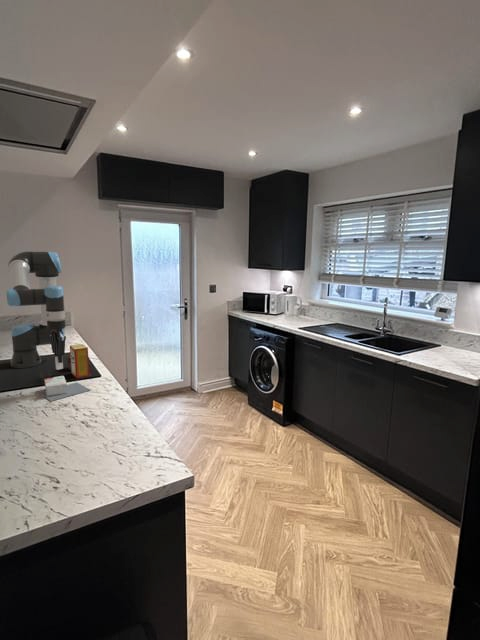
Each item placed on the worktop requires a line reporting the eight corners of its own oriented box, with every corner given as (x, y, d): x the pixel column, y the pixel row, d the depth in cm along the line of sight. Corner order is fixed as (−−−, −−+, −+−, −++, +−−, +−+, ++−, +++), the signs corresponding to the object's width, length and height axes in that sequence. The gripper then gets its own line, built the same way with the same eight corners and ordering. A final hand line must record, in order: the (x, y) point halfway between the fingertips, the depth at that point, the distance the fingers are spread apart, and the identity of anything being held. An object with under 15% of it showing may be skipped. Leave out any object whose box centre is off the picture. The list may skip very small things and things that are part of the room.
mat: (38, 393, 164) (38, 392, 163) (76, 383, 177) (76, 382, 177) (51, 401, 155) (50, 400, 155) (90, 390, 168) (90, 389, 168)
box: (77, 371, 195) (76, 358, 194) (68, 370, 196) (67, 357, 195) (84, 367, 201) (83, 355, 200) (75, 366, 202) (74, 354, 201)
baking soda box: (89, 376, 188) (87, 346, 185) (76, 378, 184) (74, 348, 181) (84, 371, 195) (82, 343, 192) (71, 373, 191) (69, 344, 188)
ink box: (45, 388, 169) (46, 396, 159) (44, 378, 168) (45, 386, 158) (64, 385, 173) (67, 393, 163) (64, 375, 172) (66, 383, 162)
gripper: (41, 318, 163) (45, 367, 168) (53, 322, 155) (57, 373, 159) (58, 316, 169) (61, 364, 173) (70, 320, 161) (73, 370, 165)
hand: (59, 368), depth 166 cm, fingers closed
